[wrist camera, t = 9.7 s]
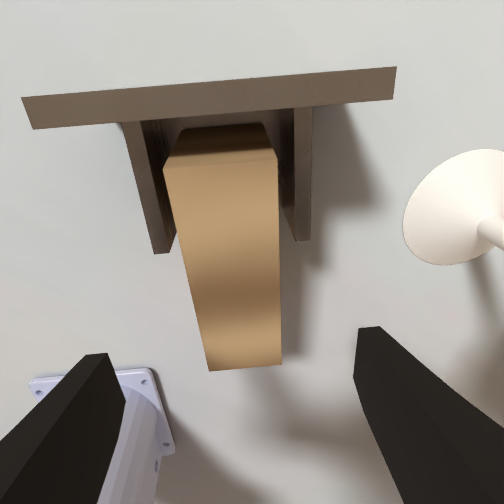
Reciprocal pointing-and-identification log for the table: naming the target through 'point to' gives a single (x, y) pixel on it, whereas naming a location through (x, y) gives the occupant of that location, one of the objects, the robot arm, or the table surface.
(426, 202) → the champagne flute
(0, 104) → the table surface
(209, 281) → the wooden block
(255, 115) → the bracket
